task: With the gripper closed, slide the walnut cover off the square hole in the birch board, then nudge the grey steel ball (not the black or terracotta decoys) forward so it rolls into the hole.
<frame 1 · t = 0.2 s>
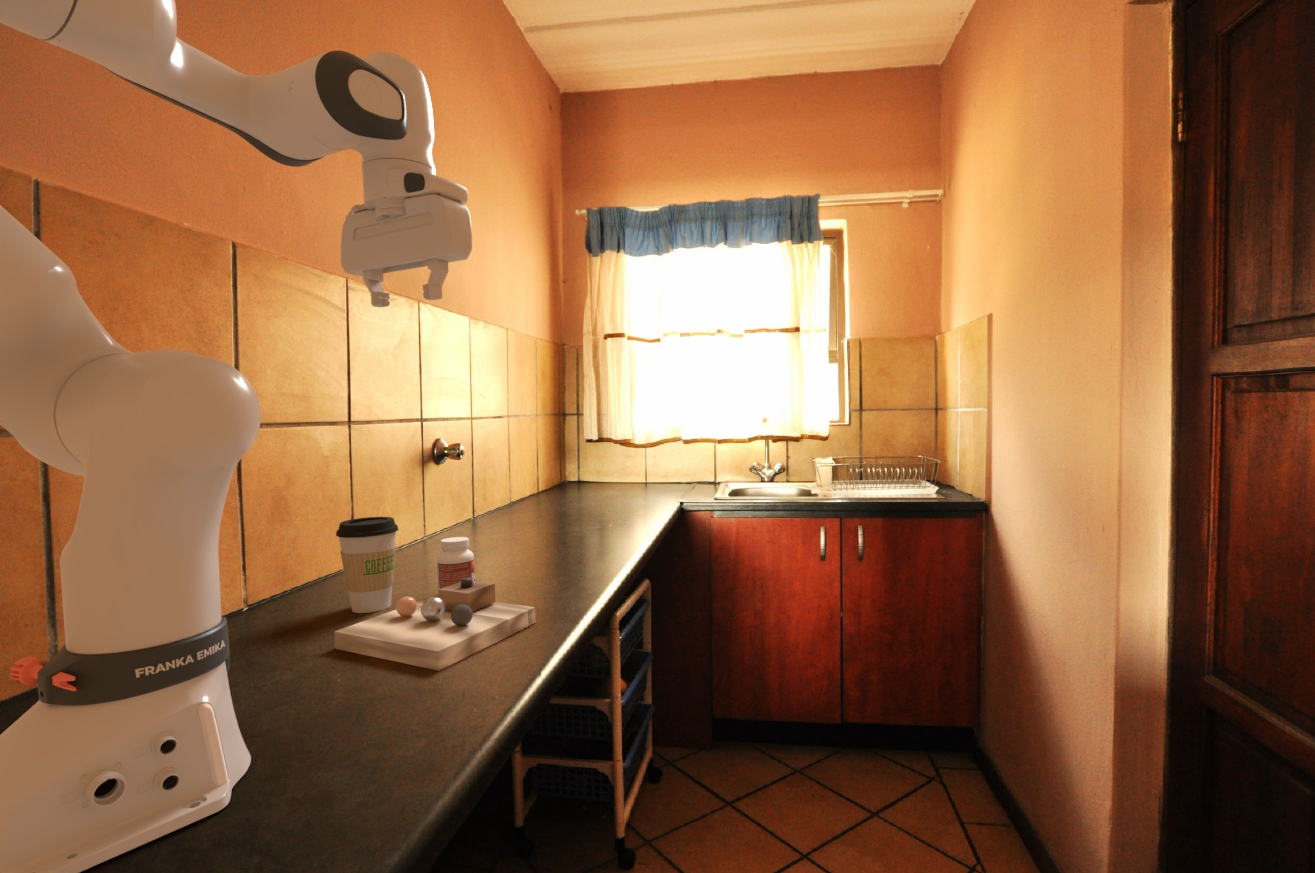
hand: (406, 303, 85), 47 cm above the worktop, tool pointing down, fingers open, 8 cm apart
coffee cup: (371, 608, 113), on the worktop
pill bottle: (457, 603, 115), on the worktop
black rubber ball: (461, 615, 94), point 4 cm above the worktop, touching board
terracotta ball: (406, 606, 99), point 4 cm above the worktop, touching board
board: (439, 635, 98), on the worktop
cover: (467, 592, 103), point 5 cm above the worktop, slide at 0.0 cm
steel ball: (433, 609, 97), point 4 cm above the worktop, touching board
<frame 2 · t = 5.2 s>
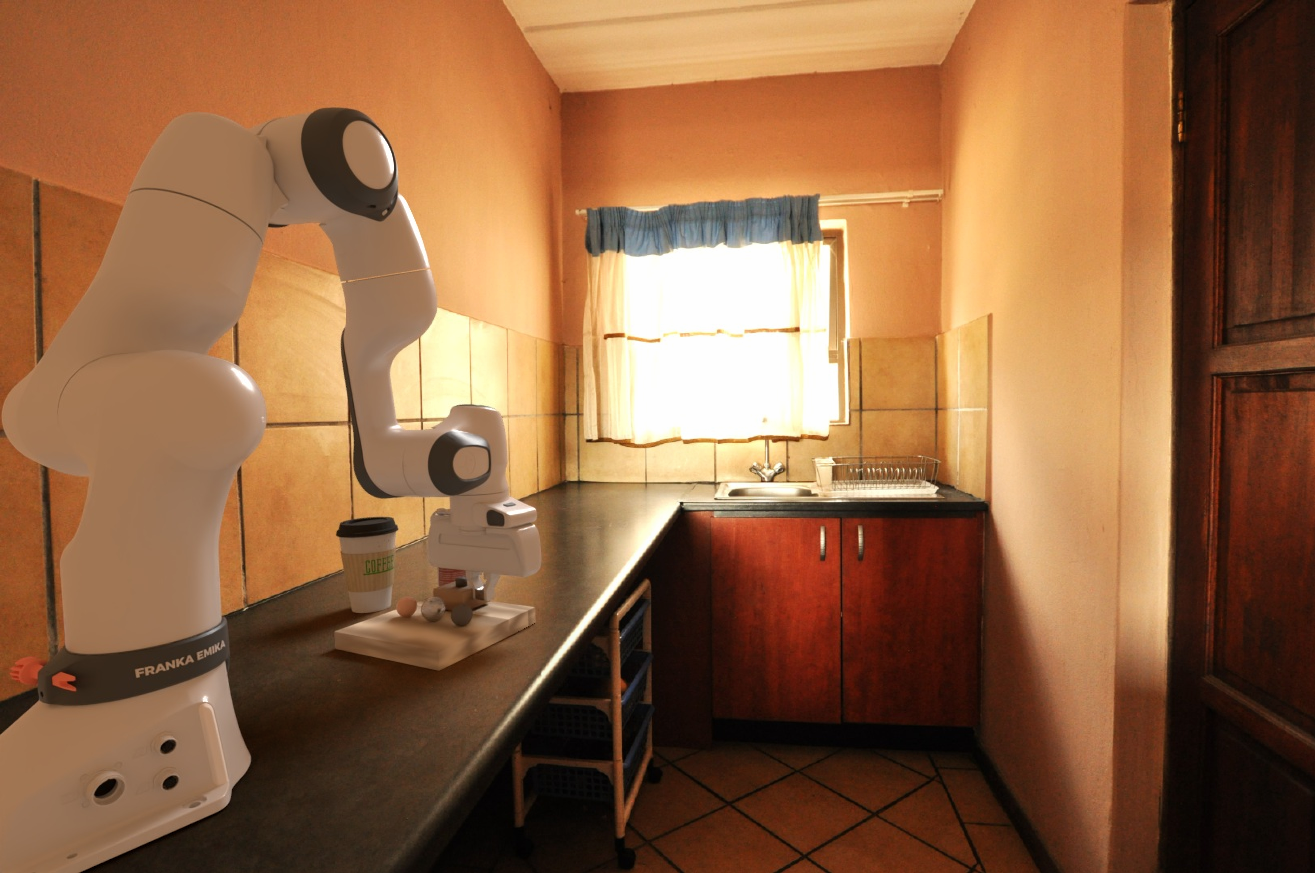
hand: (483, 599, 101), 4 cm above the worktop, tool pointing down, fingers closed
cover: (461, 591, 103), point 5 cm above the worktop, slide at 1.1 cm, touching gripper
everything else where it was.
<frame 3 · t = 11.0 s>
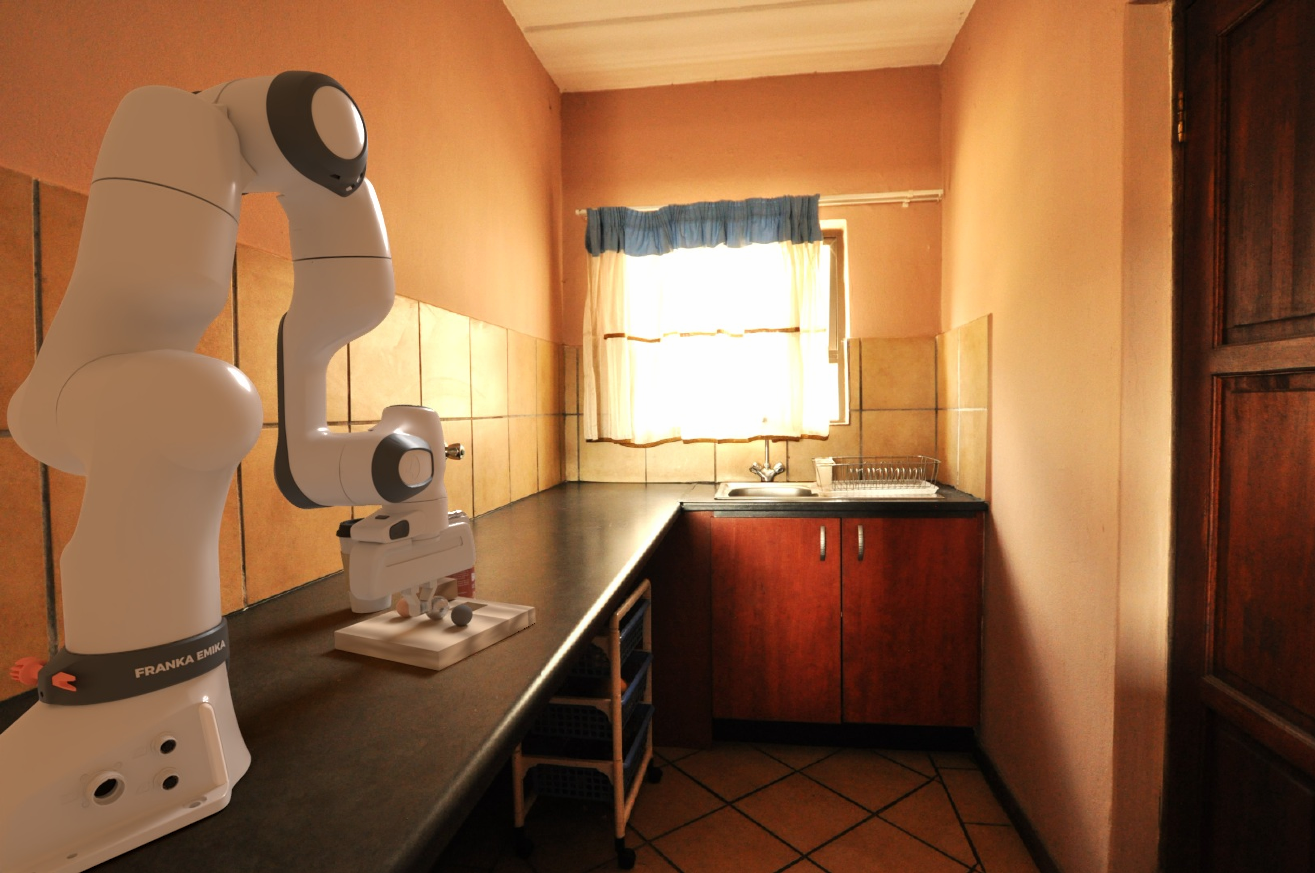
hand: (420, 613, 95), 4 cm above the worktop, tool pointing down, fingers closed
cover: (430, 587, 107), point 5 cm above the worktop, slide at 8.0 cm
steel ball: (437, 607, 97), point 4 cm above the worktop, tilted 23°, touching board, gripper
everything else where it was.
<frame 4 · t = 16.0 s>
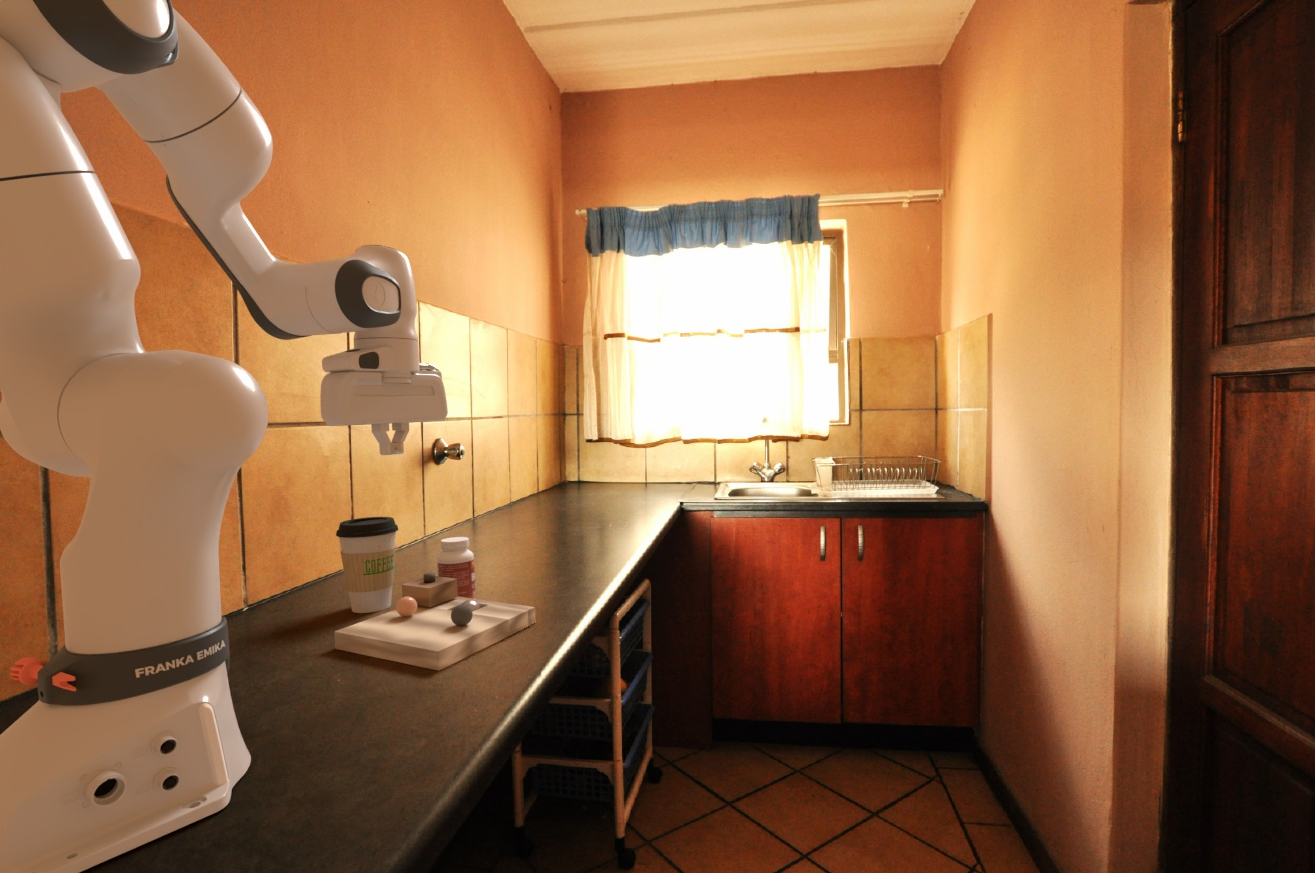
hand: (392, 454, 98), 27 cm above the worktop, tool pointing down, fingers closed
steel ball: (469, 611, 103), point 2 cm above the worktop, tilted 60°
everything else where it was.
at the end: steel ball 0.3 cm from the target spot on the board, point 1.7 cm above the board's base; cover slide at 8.0 cm; black rubber ball moved 0.1 cm from its start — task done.
